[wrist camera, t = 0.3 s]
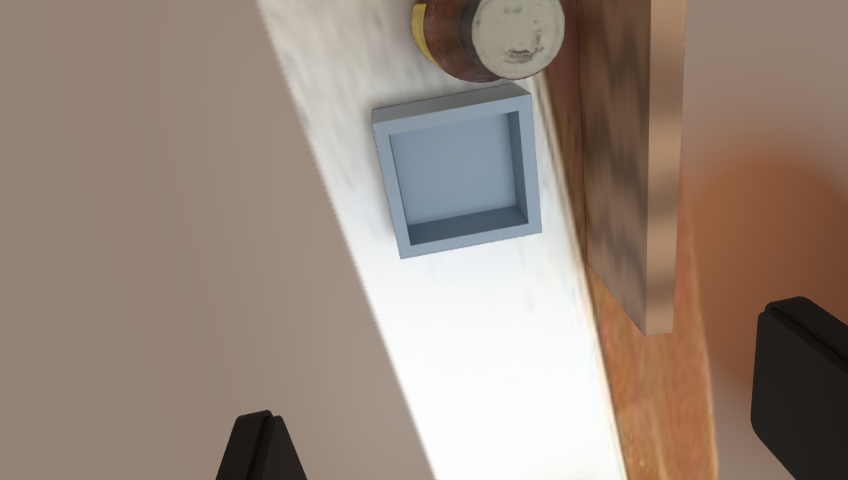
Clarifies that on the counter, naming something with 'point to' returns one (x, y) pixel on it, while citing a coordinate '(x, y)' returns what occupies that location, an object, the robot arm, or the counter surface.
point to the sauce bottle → (489, 36)
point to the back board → (632, 149)
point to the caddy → (459, 169)
